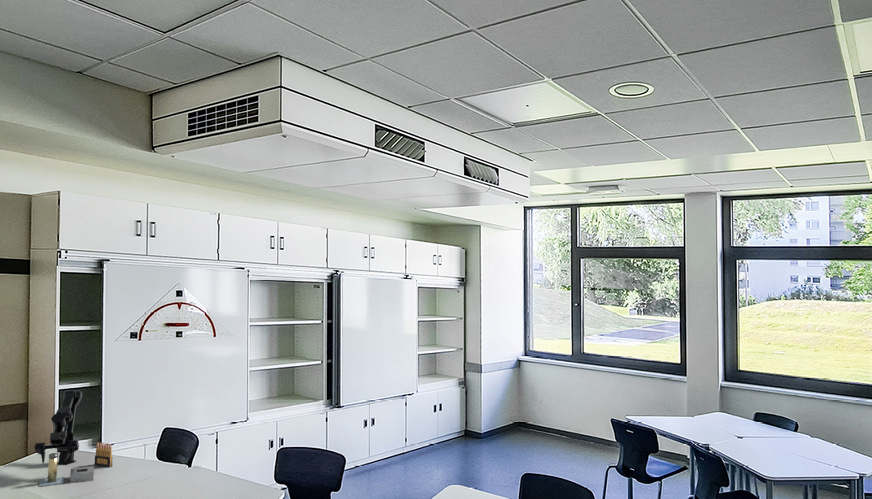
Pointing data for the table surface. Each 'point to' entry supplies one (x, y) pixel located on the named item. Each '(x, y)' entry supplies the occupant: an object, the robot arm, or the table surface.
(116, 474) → the table surface
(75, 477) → the metal housing
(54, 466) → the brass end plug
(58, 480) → the rubber mat
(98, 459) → the ammunition clip
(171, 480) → the table surface
